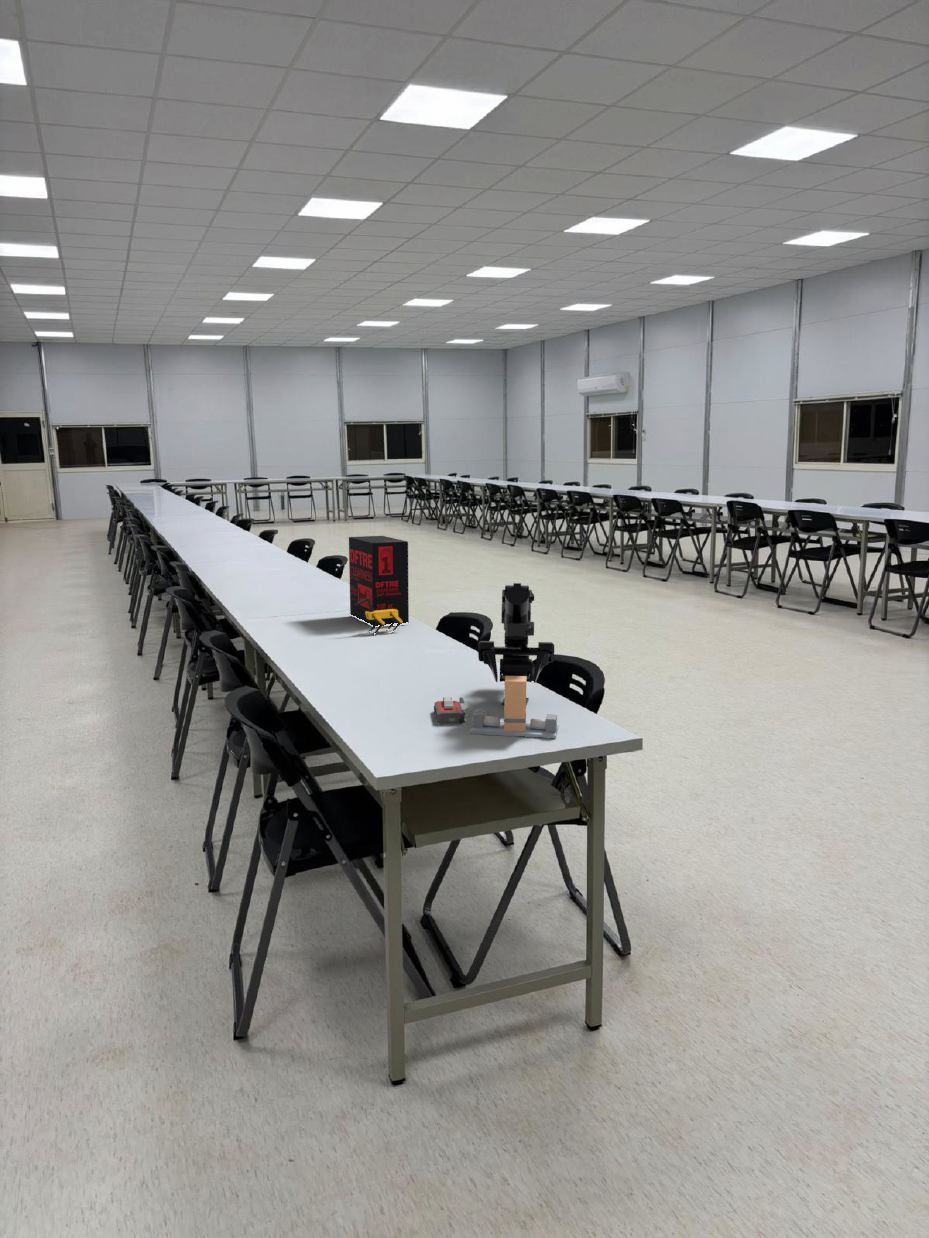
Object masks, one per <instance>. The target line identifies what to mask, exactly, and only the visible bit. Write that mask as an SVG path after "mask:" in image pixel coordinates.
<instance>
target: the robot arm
mask: <svg viewBox="0 0 929 1238" xmlns="http://www.w3.org/2000/svg"><path fill="white" fill-rule="evenodd" d="M501 591H502V592H501V624H502V625H503V631H504V640H503V641H504V646H495V641H494V640H493V641H491V640H479V642H478V644H477V646H478V647H477V655H478V661H479V662H483V664H484V665H487V666H488V667H489V669H490V670H491V673H492V675H493V677H494V682H496V683H498V682H500V683H501V682H505V676H527V677H526V683H532V682H533V683H534V684H535V683H536V682H537V680H538V678H539V675H540V673H541V671H542V670H543V668H544V667H545V666H548V665H549V663H553V662H554V661H555V644H554V643H553V642H552V641H549V642H548V641H538V642H537V643H538V645H537V647H528V646H529V636H530V637H533V636H534V635H535V621H532V620H531V619H532V603H533V602H534V601H535V593H533V590H532V589H530V586H529V585H524V584H522V583H521V582H516V583H515V582H514V583H513V584H510V585H509V584H506V585H505V586H504V589H502V590H501ZM496 656H502V658H499V675H498V665H497V658H496ZM532 656H533V657H536V658H535V660H536V661H535V664H534V662H533V659H532V658H530V657H532ZM498 677H499V678H498ZM498 679H499V681H498ZM529 700H530V698H529V697H526V706H527V704H528V702H529ZM504 702H505V696H504V698H503V699H502V702H501V705H502V706H503V705H504Z"/></svg>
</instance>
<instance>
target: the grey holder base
mask: <svg viewBox="0 0 929 1238" xmlns="http://www.w3.org/2000/svg"><path fill="white" fill-rule="evenodd" d="M486 713H487V711H486V710H480V709H475V710H474V712H473V714H472V727H471V728H470V733H469V734H470V735H471V734H473V735H488V736H489V735H491V736H504V737H505V736H506V737H518V736H525V737H524V738H534V737H544V738H543V739H546V738H545V737H549V738H548V739H550V738H556V739H557V736H556V735H558V731H559V725H558V714H553V713H552V714H551V713H547V714H546V717H545V719H543V718H542V719H541V718H530V722H528V723H527V722H526V730H525V731H504V721H501V717H500V716H493V715H491V716H488V715H487V714H486Z"/></svg>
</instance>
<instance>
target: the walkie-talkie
mask: <svg viewBox="0 0 929 1238" xmlns="http://www.w3.org/2000/svg"><path fill="white" fill-rule="evenodd" d="M458 699H459V700H458V701H457V700H453V697H447V696H446V697H442V700H438V701H435V702H434V705H433V712H434V715H436V716H435V719H436V720H437V721H436V724H438V723H439V725H453V724H454V725H455V724H458V725H459V724H463V723H464V722H465V721H466V717H467V716H470V715H469V712H470V708H469V703H465V700H464V698H463V697H462V696H460V697H459V698H458Z"/></svg>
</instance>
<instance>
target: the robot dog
mask: <svg viewBox="0 0 929 1238" xmlns="http://www.w3.org/2000/svg"><path fill="white" fill-rule="evenodd" d="M366 601H367V602H368V605H369V607H370V609H369V611H366V612H365V614H366V618H367V619H369V620H372V619H373V620H374V621H375V622H376V624H375V625H374V626H373V627H371V628H370V629H369V631H371V632H372V631H373V630H374V629H376V630H374V632H373V633H376V634H377V633H378V632H379V630H380V629H381V628H383V627H382V626H384V625H385V623H384V621H382V620H381V619H382V618H392V619H393V620H394V621H393V623H392V624H391V625H390V626H389V627H387V629H389V630H391V628H392V627H394V628H393V629H392V630H393V631H394V630H395V631H396V629H398V627H400V626H399V625H400V624H402V623H403V621H402V620H401V619H400V618H399V617H398V610H396V609H387V610H376V611H374V608H373V607H372V604H371V602H370V600H369V598H366V599H364V600H362V601H360V602H358V603H355V604H354V605H355V606H357V605H360V604H362V603H364V602H366ZM397 621H398V622H399V623H398V624H397V626H393V624H394V623H395V622H397ZM379 623H380V624H381V625H380V626H379V627H378V628H375V626H376V625H377V624H379ZM395 631H394V632H395Z"/></svg>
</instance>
